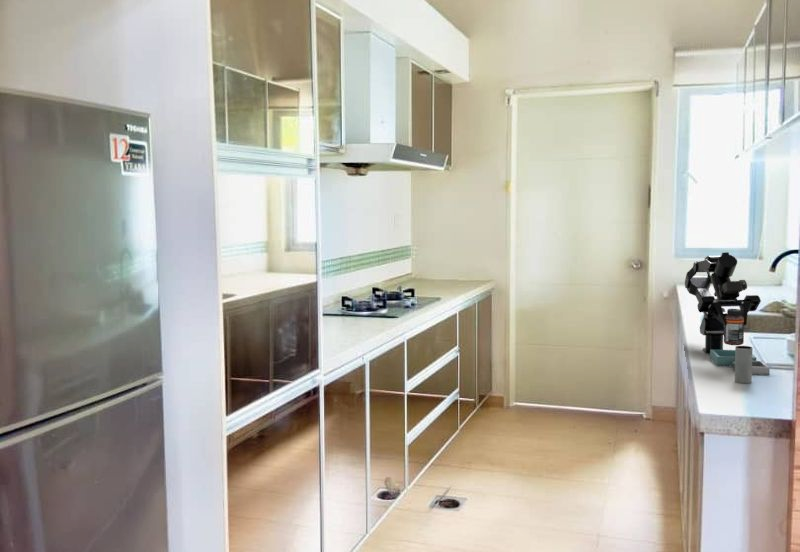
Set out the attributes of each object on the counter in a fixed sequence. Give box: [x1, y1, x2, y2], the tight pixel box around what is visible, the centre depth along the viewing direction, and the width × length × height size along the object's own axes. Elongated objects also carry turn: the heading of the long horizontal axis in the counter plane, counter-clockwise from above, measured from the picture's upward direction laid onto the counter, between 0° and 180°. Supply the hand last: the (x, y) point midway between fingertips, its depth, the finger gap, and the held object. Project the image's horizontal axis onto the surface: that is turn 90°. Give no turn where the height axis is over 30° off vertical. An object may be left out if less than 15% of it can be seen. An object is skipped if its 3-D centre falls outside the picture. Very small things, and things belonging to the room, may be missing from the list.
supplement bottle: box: [723, 308, 745, 346], centre depth 241 cm, size 6×6×11 cm
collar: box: [729, 360, 771, 375], centre depth 231 cm, size 9×9×2 cm
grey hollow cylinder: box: [734, 345, 753, 384], centre depth 218 cm, size 4×4×10 cm
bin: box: [709, 349, 757, 367], centre depth 243 cm, size 12×12×3 cm
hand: (735, 324), depth 240 cm, fingers closed on supplement bottle, 6 cm apart
